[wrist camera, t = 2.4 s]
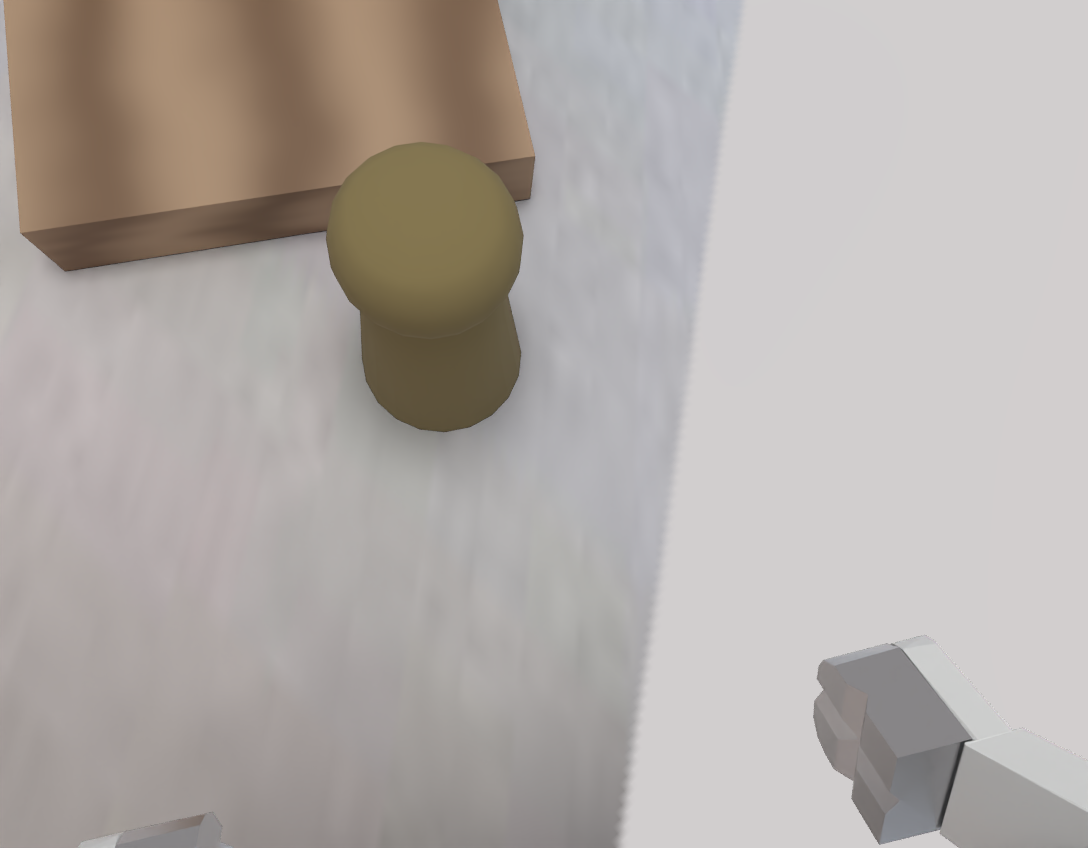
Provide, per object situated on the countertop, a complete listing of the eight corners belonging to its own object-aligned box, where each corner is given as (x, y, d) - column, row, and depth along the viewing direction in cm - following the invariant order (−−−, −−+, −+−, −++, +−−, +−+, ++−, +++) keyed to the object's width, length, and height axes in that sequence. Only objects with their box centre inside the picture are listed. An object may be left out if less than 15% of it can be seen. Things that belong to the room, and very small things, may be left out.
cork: (455, 253, 31) (443, 62, 21) (553, 367, 30) (592, 229, 20) (329, 342, 30) (247, 186, 19) (427, 464, 29) (397, 371, 18)
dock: (65, 271, 30) (-16, 202, 25) (39, -33, 33) (-37, -147, 28) (529, 198, 32) (539, 122, 27) (464, -80, 35) (461, -192, 30)
